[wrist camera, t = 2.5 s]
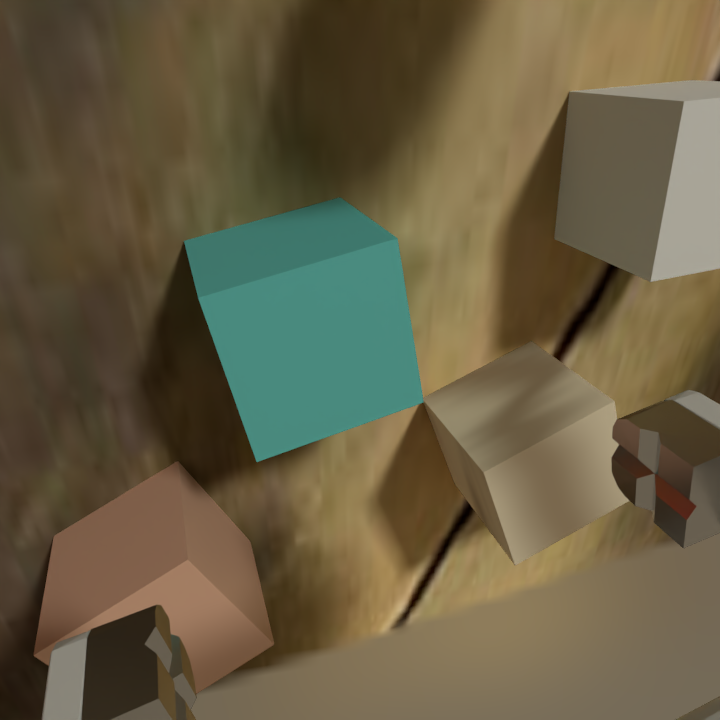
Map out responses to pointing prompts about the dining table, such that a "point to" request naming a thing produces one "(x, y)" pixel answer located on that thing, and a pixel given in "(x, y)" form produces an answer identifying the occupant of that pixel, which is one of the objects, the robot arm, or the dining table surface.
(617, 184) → the grey block
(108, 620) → the terracotta block
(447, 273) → the dining table surface
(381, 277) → the teal block
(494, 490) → the maple block
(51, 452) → the dining table surface
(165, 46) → the dining table surface
